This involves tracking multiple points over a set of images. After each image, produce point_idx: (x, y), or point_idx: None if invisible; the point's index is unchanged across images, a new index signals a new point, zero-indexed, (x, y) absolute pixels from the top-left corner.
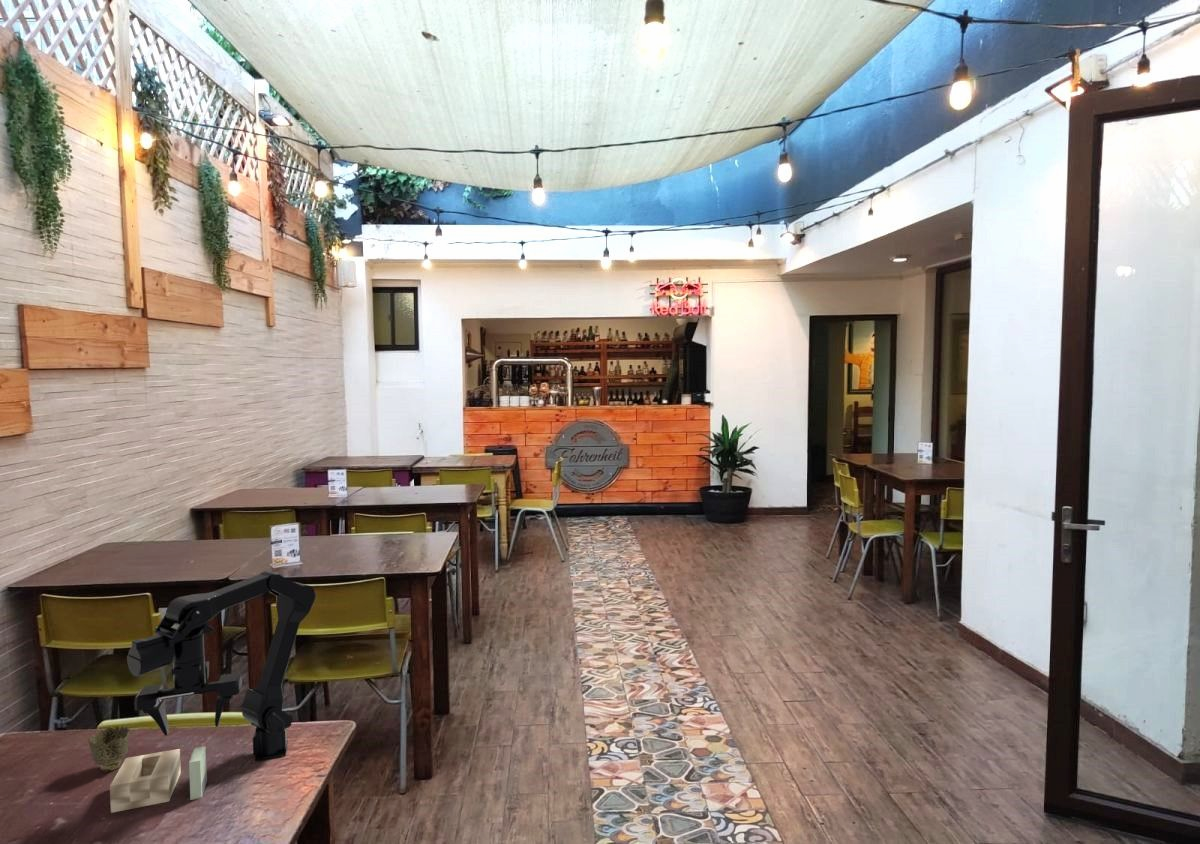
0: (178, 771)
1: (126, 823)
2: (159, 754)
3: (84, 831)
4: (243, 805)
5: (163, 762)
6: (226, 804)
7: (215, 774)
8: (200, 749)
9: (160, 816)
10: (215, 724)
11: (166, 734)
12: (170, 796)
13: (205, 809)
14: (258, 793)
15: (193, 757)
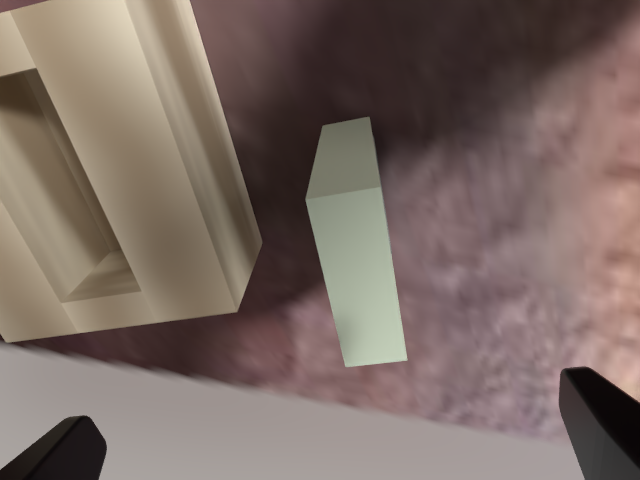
0: (191, 47)
1: (180, 335)
2: (19, 54)
3: (69, 346)
4: (570, 321)
5: (124, 172)
6: (502, 303)
7: (392, 46)
8: (359, 232)
9: (278, 322)
10: (575, 448)
11: (100, 463)
12: (254, 220)
13: (429, 316)
14: (628, 258)
15: (351, 323)
